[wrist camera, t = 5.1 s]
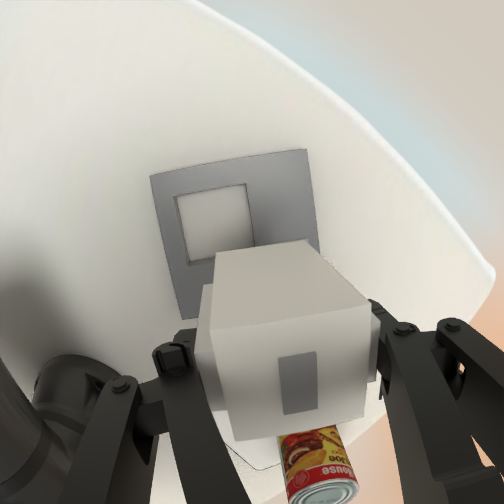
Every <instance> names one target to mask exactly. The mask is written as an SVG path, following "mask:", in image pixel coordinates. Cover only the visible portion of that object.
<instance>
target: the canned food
mask: <svg viewBox="0 0 504 504" xmlns="http://www.w3.org/2000/svg"><path fill="white" fill-rule="evenodd" d="M276 438H277V443H278V449H279V454H280V460H281V465H282V471H283V476H284V481H285V487H286V492H287V498H288V503H289V504H347V503H348V502H350V501H351V500H352V499H353V498H354V497H355V496H356V495H357V493H358V492H359V485H358V482H357V480H356V477H355V474H354V472H353V469H352V466H351V464H350V462H349V459H348V456H347V454H346V451H345V448H344V446H343V443H342V441H341V438H340V436H339V433H338V431H337V428H336V425H330V426H326V427H322V428H317V429H313V430H308V431H303V432H298V433H292V434H287V435H281V436H276Z"/></svg>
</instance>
